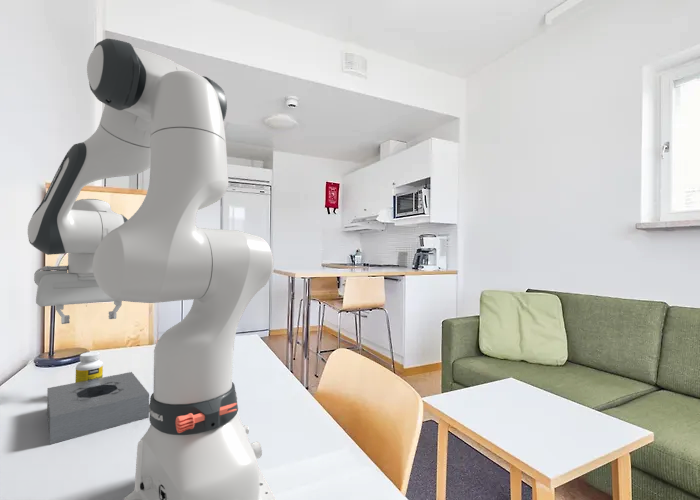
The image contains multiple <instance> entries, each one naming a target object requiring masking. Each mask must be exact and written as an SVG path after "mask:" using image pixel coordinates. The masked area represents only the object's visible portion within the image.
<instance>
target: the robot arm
mask: <svg viewBox="0 0 700 500" xmlns="http://www.w3.org/2000/svg"><path fill="white" fill-rule="evenodd" d="M86 73H87V79H88V83H89V84H88V85H89V88H90V91H91V92H92V93H93V95H94V97H95V98H96V100H98V101H99V102H102V103H103V104H104V108H103V111H102V114H101V117H100V121H99V124H98V127H97V128H96V130H95V131H94V133H93V134H91V136H90V137H89V138H87V139H86V140H84V141H83V142H79V143H75V144H73V145H72V146H71V147H70V148H69V150H68V151H67V152H66V153H65V156H64V157H63V159H62V160H61V163H60V165H59V167H58V169H57V171H56V172H55V174H54V176H53V178H52V181H51V183H50V184H49V187H48V189H47V191H46V192H45V195H44V197H43V198H42V201H41V202H40V204H39V205H38V207H37V208H36V209H35V211H34V212H33V213H32V216H31V218H30V219H29V222H28V225H27V237H28V242H29V244H30V245H31V246H32V247H34V248H35V249H37V250H38V251H39V252H42V253H43V254H45V255H47V256H49V255H50V256H51V255H52V256H53V255H63V254H67V265H54V266H52V265H51V266H50V265H45V266H43V267H40V268H38V269H37V270H35V272H34V275H33V276H34V278H33V280H34V283H35V284H36V285H37V287H36V288H37V289H36V294H35V295H36V296H35V297H36V298H35V304H37V306H39V307H52V306H53V307H54V306H55V311H56V312H57V313H58V315H59V316H60V318H61V319H60V321H61V322H60V323H61V324H62V325H66V324H70V322H71V321H70V320H71V318H70V317H71V316H70V315H69V314H67V315H65V314H64V312H63V310H64V307H65V306H66V305H67V306H69V305H81V304H95V303H107V302H108V303H109V302H113V305H115V306H114V307H113V309H112V311H108V320H115V319H117V312H119V310H120V308H121V307H122V303H123V302H130V303H141V304H142V303H144V304H156V303H167V302H170V303H171V302H179V301H181V302H182V301H188V300H189V301H190V300H191V301H192V300H193V301H192V305H191V307H190V309H189V311H188V313H187V314H186V315H185V317H184V318H183V319H181V321H180V322H178V323H176V324H174V325H172V327H171V326H170V328H168V329H167V330H166V331H165V332H163V334H162V335H161V336H160V337H159V339H158V340H157V342H156V343H155V344H156V345H155V346H154V349H153V392H152V393H151V395H150V396H149V417H148V419H149V423H150V425H149V428H148V429H147V430H146V432H145V434H144V435H143V437H141V438H140V440H139V441H138V443H137V445H136V446H137V447H136V448H137V449H136V459H135V460H136V463H135V478H134V480H135V481H134V489H133V490H132V491H131V492H130V493H128V495H126V496H125V497H124V498H123V499H122V500H277V498H276V496H275V494H274V492H273V491H272V489H271V487H270V485H269V483H268V482H267V480H266V477H265V475H264V474H263V472H262V470H261V468H260V466H259V462H258V460H259V459H261V458H262V455H263V450H262V446H261V442H260V441H255V442H252V443H251V441H250V439H249V436H248V435H249V431H250V429H249V426H248V424H246V425H243V422H242V420H241V417H240V414H239V406H238V394H237V390H236V386H235V383H234V382H233V368H234V367H233V363H234V362H233V361H234V350H235V349H234V348H235V341H236V340H235V339H236V335H237V330H238V327H239V324H240V321H241V319H242V316H243V314H244V312H245V310H246V309H247V307H248V305H249V304H250V302H251V301H252V299H253V298H254V297H255V295H257V294H258V292H259V291H260V290H262V288H264V287H265V286H266V285H267V284H268V283H269V280H270V279H271V276H272V274H273V270H274V256H273V251H272V250H271V247H270V245H269V243H268V242H267V240H265V239H264V238H263V237H262V236H259V235H255V234H252V233H249V232H246V231H241V230H237V229H220V228H219V229H217V228H206V227H205V228H202V227H201V228H200V227H197V225H196V223H197V222H196V220H197V214H198V211H199V210H202V209H204V208H207V207H210V206H211V205H213V204H215V203H217V202H219V201H220V200H221V199H222V198H223V197H224V196H225V194H226V193H227V191H228V187H229V169H228V154H227V139H226V129H225V123H224V121H225V119H226V115H227V110H228V104H227V103H228V102H227V97H226V94H225V91H224V89H223V88H222V87H221V86H220V85H219V84H218V83H217V82H215V80H212V79H210V77H207V76H205V75H204V76H202V75H200V74H199V73H197V72H195V71H193V70H191V69H190V68H188V67H186V66H184V65H182V64H179V63H177V62H175V61H174V60H173V59H171V58H169V57H165V56H163V55H160V54H158V53H155V52H152V51H150V50H146V49H143V48H140V47H137V46H133V45H132V44H131V43H130V42H126V41H125V40H120V39H119V40H118V39H116V38H115V39H113V38H105V39H102V40H100V41H98V42H97V43H96V44H95V46H94V48H93V49H92V51H91V53H90V55H89V57H88V59H87V64H86ZM149 169H150V171H149V183H148V189H147V192H146V195H145V197H144V199H143V201H142V203H141V205H140V207H138V209H137V210H136V212H135V213H134V214H133V215H132V216H131V217H130V218H128V219H127V217H125V216H124V214H120V213H117V212H116V211H113V210H112V206H111V204H110V203H109V202H108V201H105V200H102V199H96V198H82V199H78V197H79V195H80V192H81V191H82V190H83V189H84V187H86V186H87V185H89V184H91V183H94V182H96V181H101V180H105V179H112V178H120V177H130V176H134V175H139V174H141V173H143V172H145V171H147V170H149ZM77 199H78V200H77Z"/></svg>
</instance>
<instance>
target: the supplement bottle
mask: <svg viewBox="0 0 700 500" xmlns="http://www.w3.org/2000/svg"><path fill="white" fill-rule="evenodd" d="M100 354H101V353H100V351H87V352H83V353H81V354H79V361H80V362H79V363H77V365H76V366H75V382H74V383H77V382H82V381H87V380H92V379H98V378H103V376H104V375H103V372H104V371H103V370H104V369H103V367H104V365H103V364H104V362H103V361H101V360H100V356H101V355H100Z"/></svg>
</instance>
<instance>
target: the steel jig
mask: <svg viewBox="0 0 700 500" xmlns="http://www.w3.org/2000/svg"><path fill="white" fill-rule="evenodd" d="M46 391H47V393H46V394H47V395H46V397H47V401H46V405H47V406H46V408H47V409H46V412H47V424H48V425H47V426H48V439H49V445H54V444H57V443H60V442H64V441H69V440H72V439H76V438H79V437H82V436H86V435H90V434H94V433H97V432H100V431H105V430H108V429H111V428H116V427H120V426H122V425H127V424H130V423H133V422H137V421H141V420H143V419H144V420H145V419H149V418H150V413H149V404H150V392H148V391H147V389H146V388H145V386H144V385H143V384H142V383H141V382H140V380H139V379H138V378H137V377H136V375H135V374H134V373H133V372H132V371H129V372H125V373H119V374H114V375H109V376H104V377H102V378H98V379H92V380H87V381H82V382H77V383H75V382H73V383H67V384H62V385H58V386H52V387H48V388H47V390H46Z"/></svg>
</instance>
